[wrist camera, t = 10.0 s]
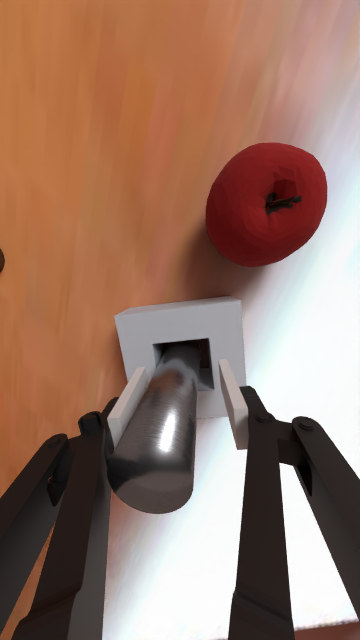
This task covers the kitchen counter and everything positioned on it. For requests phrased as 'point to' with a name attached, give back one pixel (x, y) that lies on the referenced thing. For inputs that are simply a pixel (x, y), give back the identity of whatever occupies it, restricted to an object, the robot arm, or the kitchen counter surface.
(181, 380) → the long pin
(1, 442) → the kitchen counter surface
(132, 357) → the hole block
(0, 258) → the medium pin
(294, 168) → the apple
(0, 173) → the kitchen counter surface
